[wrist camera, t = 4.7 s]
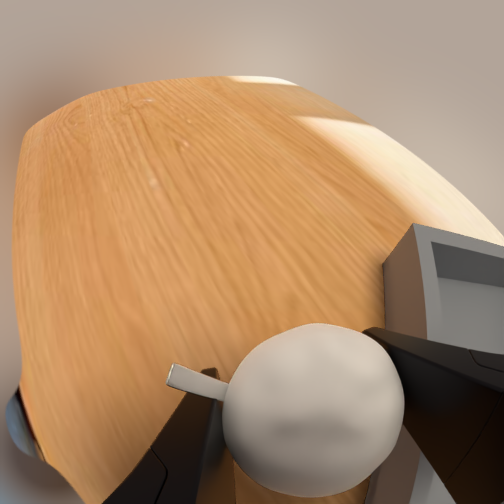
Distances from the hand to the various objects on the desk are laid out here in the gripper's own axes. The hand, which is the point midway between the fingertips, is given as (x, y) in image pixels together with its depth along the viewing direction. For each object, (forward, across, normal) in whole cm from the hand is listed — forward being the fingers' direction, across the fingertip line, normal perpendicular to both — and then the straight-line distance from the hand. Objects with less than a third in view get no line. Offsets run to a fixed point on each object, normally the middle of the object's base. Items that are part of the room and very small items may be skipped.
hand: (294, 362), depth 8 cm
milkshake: (+4, 0, +6) cm, 7 cm away
